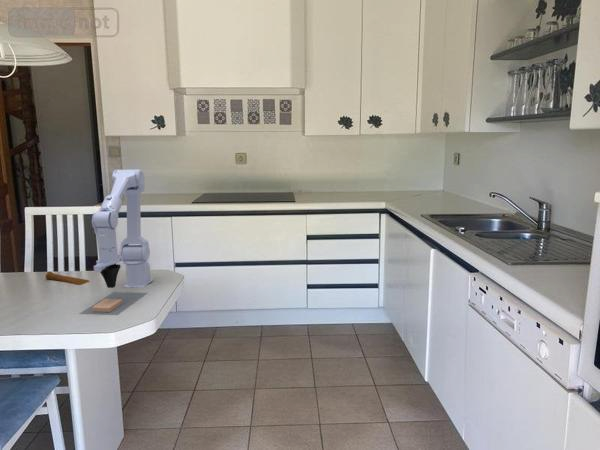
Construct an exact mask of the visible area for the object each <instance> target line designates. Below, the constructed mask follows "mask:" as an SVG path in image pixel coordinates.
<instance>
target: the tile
mask: <svg viewBox="0 0 600 450" xmlns="http://www.w3.org/2000/svg"><path fill="white" fill-rule="evenodd" d="M103 299H104V298H103ZM121 304H122V299H104V300H103V301H101V302H100V303H98V304H96V305H95V306H93V307H92V312H111V311H112V310H114V309H115V308H117V307H118V306H120V305H121Z"/></svg>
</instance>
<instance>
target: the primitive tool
mask: <svg viewBox="0 0 600 450" xmlns="http://www.w3.org/2000/svg"><path fill="white" fill-rule="evenodd" d="M45 279H46V280H47V281H51V280H53V281H57V282H62V283H67V284H73V285H76V286H80V285H81V286H82V285H85V284H87V283H89V282H90V279H89V280H88V279H84V278H77V277H72V276H66V275H62V274H56V273H53V272H52V271H48V272H46V274H45Z"/></svg>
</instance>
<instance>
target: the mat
mask: <svg viewBox="0 0 600 450" xmlns="http://www.w3.org/2000/svg"><path fill="white" fill-rule="evenodd" d="M146 295H148V292H130V291H129V292H127V291H123V292H122V291H119V292H118V291H113V292H112V293H110V294H109V295H107V296H105V297H104V298H102V299H100V300H99V301H96V302H95V303H94V304H92V305H91V306H89V307H87V308H86V309H84V310H82V312H80V313H79V314H80V315H98V316H99V315H101V316H102V315H105V316H106V315H107V316H119V315H120V314H121V313H122V312H124V311H125V310H127V309H128V308H129V307H131V306H132V305H133V304H134V305H135V304H136V302H138V301H139V300H140V299H142V298H143V297H144V296H146ZM104 299H122V304H121V305H120V306H118V307H117V308H115V309H114V310H112V311H111V312H92V307H93V306H95V305H96V304H98V303H100V302H101V301H103V300H104Z"/></svg>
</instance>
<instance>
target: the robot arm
mask: <svg viewBox="0 0 600 450" xmlns="http://www.w3.org/2000/svg"><path fill="white" fill-rule="evenodd" d="M111 179H112V184H113V185H112V189H111V192H110V194H108V195H106V196H105V197H104V199H103V201H102V204H101V205H100V208H99V210H97V211H96V212H94V213H93V214H92V217H91V224H92V229H93V232H94V234H95V235H96V239H97V251H98V260H96V262H95V263H96V264H95V265H93V272H94V273H99V274H101V276H102V278H103V280H104V282H105V285H106V288H108V289H109V288H110V289H114V288H116V285H117V284H116V283H117V280H118V279H117V278H118V275H119V271H120V269H121V264H119V262H123V264H125V272H126V273H125V275H126V283H125V284H123V285H122V287H123V288H144V287H146V286H147V285H149V284H150V283H152V282H154V279H153V278H152V276H151V265H150V262H149V258H150V255H151V250H150V246H149V245H150V244H149V241H148V240H147V239H145V238H144V237H143V236H142V235H141V234H142V231H141V228H142V227H141V225H142V224H141V223H142V222H141V221H142V220H141V193H143V192H145V175H144V173H143V171H142V169H140V168H137V169H114V170H113V172H112V175H111ZM124 194H125V196H126V237H125V238H124V239H123V240H122V241H121V242H120V249H119V252H118V245H117V232H116V228H117V226H118V224H119V213H120V211H121V208H122V205H123V200H122V198H123V196H124Z"/></svg>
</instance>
